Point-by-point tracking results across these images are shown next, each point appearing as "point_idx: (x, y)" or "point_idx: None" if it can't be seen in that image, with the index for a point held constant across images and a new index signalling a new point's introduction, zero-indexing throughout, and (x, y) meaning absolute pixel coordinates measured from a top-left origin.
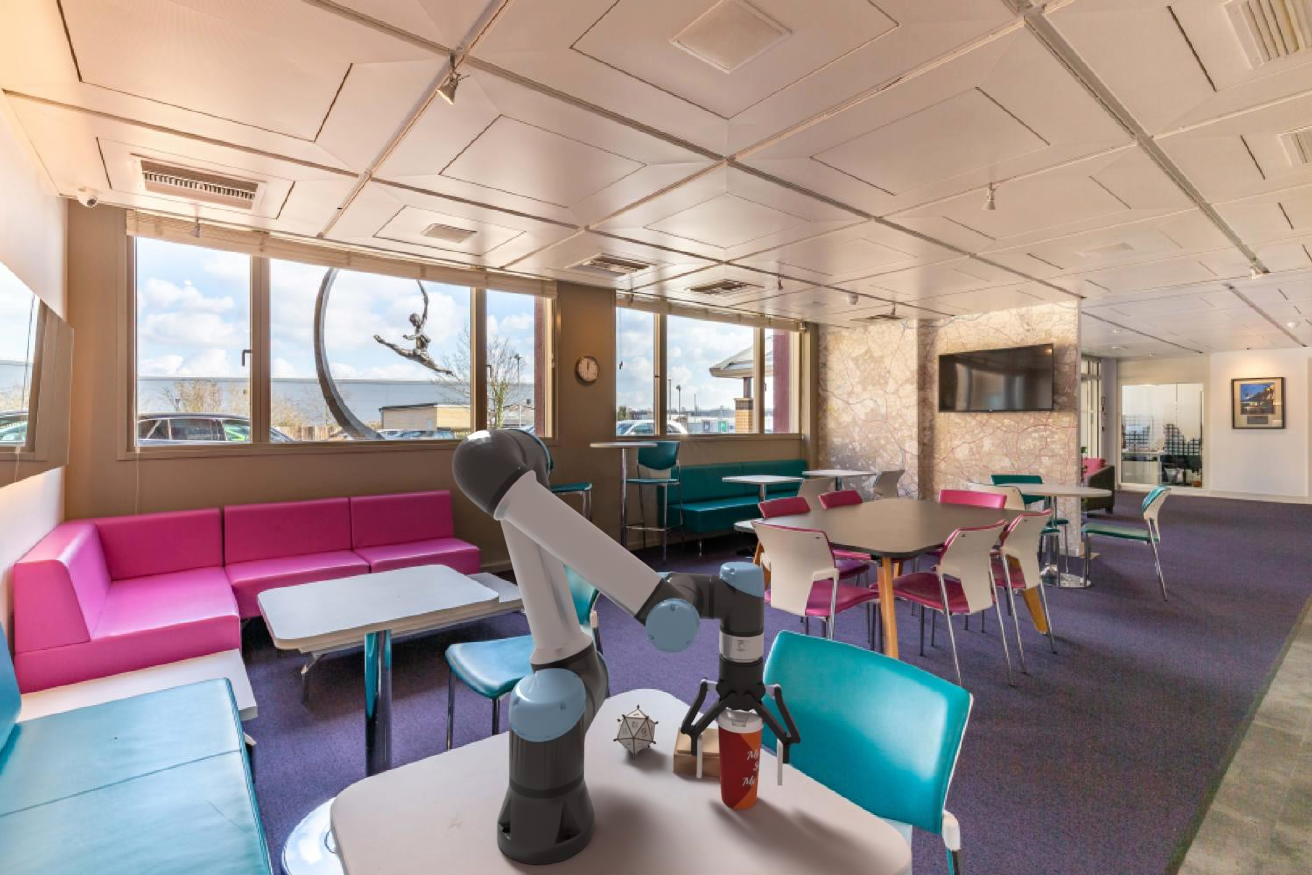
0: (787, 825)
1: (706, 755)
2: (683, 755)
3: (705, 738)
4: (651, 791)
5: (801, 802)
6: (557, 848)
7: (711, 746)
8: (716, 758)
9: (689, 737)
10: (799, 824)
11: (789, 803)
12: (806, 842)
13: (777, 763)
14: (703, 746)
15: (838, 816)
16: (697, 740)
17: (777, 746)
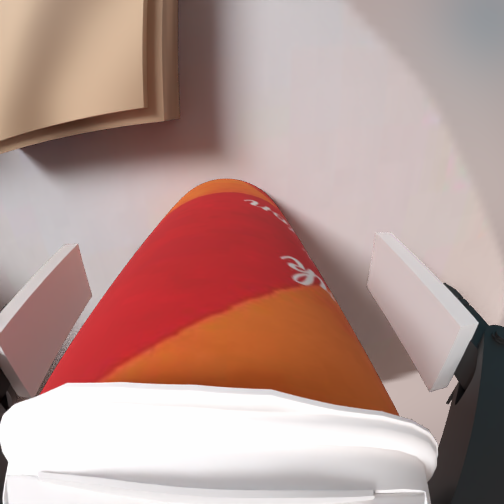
0: (353, 312)
1: (72, 123)
2: (5, 151)
3: (56, 16)
4: (6, 249)
5: (411, 217)
6: None
7: (80, 68)
8: (114, 126)
9: (3, 42)
10: None
11: (379, 227)
12: (377, 347)
13: (398, 296)
14: (50, 82)
15: (467, 256)
16: (19, 395)
17: (436, 324)
